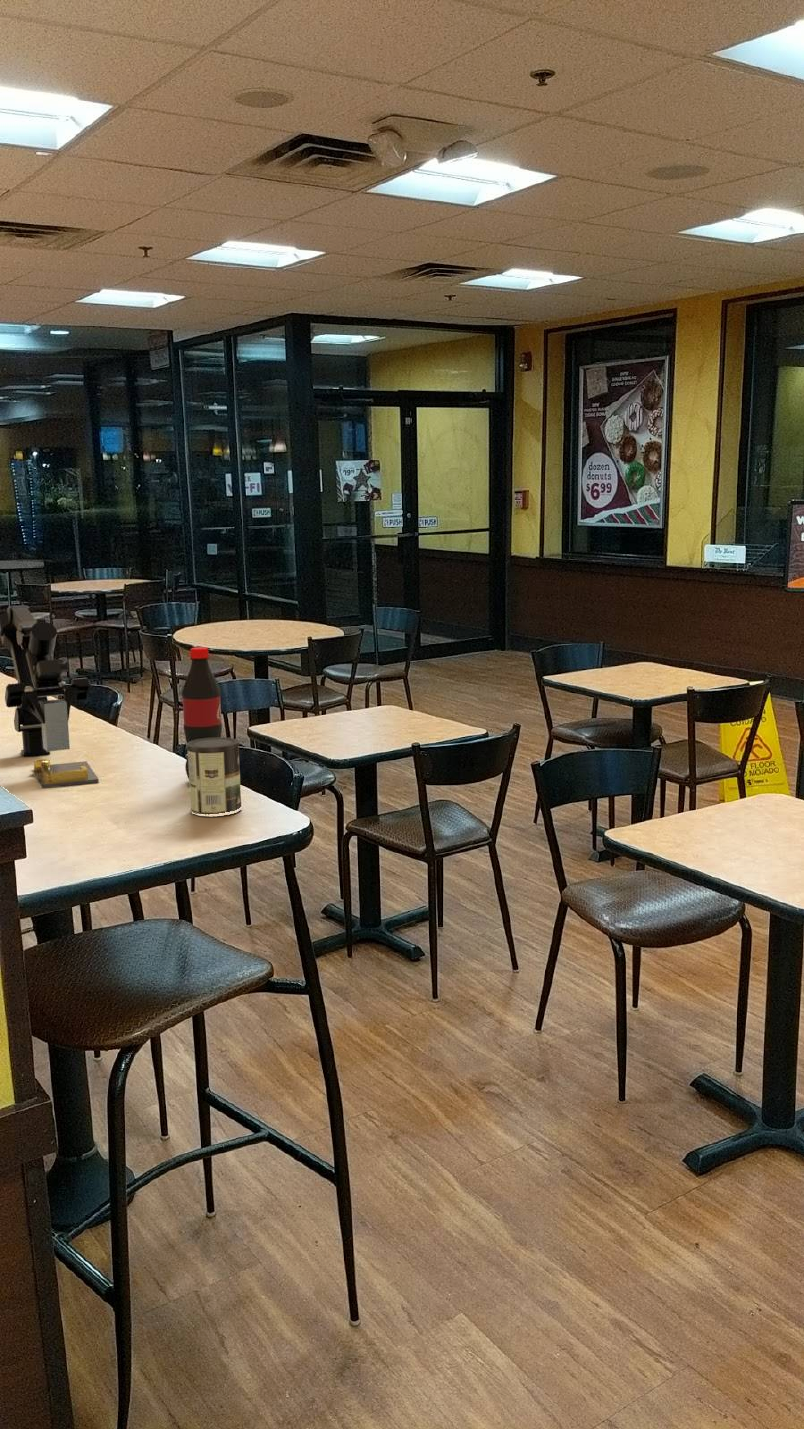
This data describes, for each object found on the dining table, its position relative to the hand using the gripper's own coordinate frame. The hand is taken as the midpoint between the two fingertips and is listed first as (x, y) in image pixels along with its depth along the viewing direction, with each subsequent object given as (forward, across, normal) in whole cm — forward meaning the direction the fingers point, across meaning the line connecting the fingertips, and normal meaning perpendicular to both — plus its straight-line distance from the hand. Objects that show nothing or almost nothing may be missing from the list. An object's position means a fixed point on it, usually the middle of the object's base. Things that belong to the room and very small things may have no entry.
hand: (55, 721), depth 248 cm
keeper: (+10, +1, +8) cm, 13 cm away
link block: (+4, 0, +6) cm, 7 cm away
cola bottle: (+26, +27, -8) cm, 38 cm away
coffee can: (+44, +20, -26) cm, 55 cm away
